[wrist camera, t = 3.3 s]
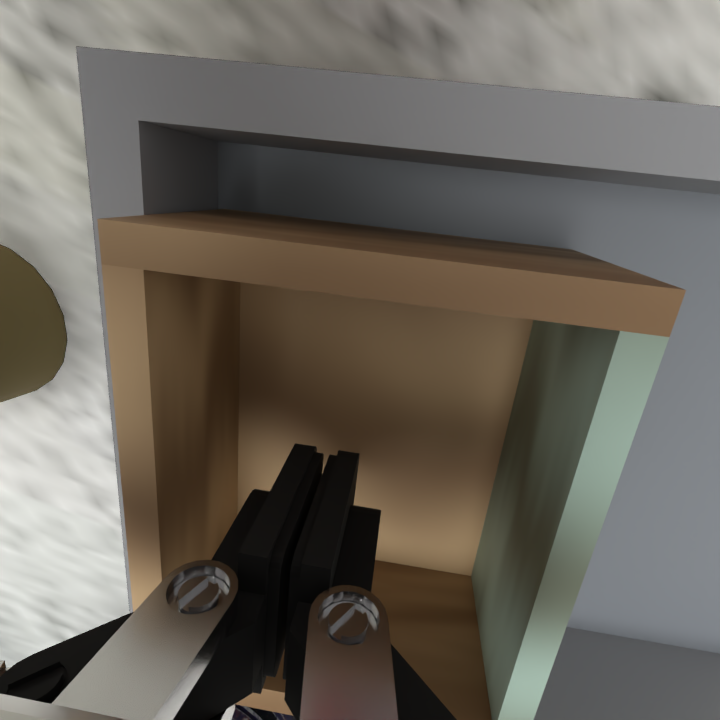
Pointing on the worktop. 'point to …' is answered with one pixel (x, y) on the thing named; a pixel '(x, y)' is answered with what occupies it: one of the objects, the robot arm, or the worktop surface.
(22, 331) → the cork
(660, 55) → the worktop surface
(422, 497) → the crate
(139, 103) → the bay
